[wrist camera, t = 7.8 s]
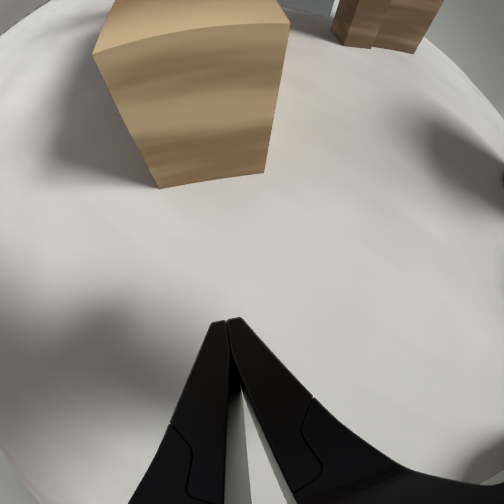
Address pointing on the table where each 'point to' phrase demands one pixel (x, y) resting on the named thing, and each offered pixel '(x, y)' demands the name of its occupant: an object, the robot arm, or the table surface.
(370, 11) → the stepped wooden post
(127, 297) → the table surface
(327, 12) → the door
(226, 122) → the block
